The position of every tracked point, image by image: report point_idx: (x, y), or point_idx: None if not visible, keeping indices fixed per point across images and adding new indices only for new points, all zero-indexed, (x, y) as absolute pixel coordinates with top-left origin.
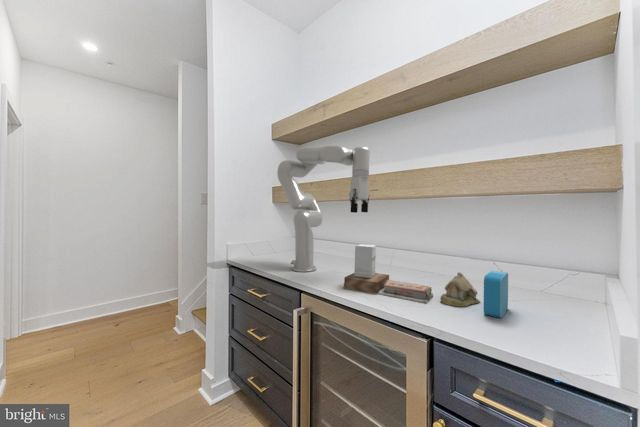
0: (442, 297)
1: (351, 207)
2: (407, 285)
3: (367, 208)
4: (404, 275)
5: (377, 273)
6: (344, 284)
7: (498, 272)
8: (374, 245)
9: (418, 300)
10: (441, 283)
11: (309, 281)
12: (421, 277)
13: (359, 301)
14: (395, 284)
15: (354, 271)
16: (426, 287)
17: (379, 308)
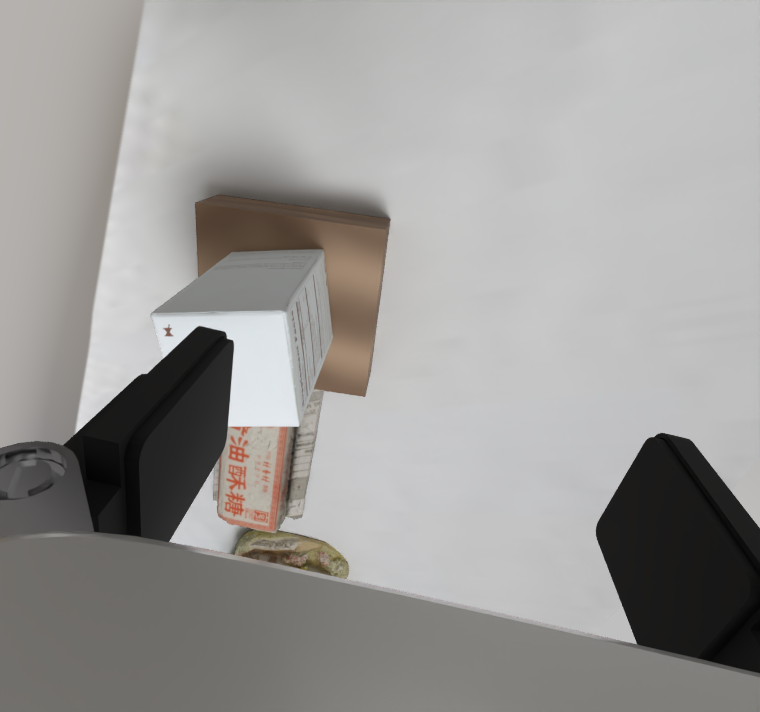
0: (238, 544)
1: (113, 400)
2: (244, 470)
3: (630, 600)
4: (591, 414)
5: (367, 342)
6: (211, 198)
7: None
8: (274, 422)
9: (214, 480)
10: (487, 541)
11: None
12: (570, 481)
13: (101, 309)
14: (235, 432)
15: (222, 259)
16: (249, 523)
17: (85, 382)
